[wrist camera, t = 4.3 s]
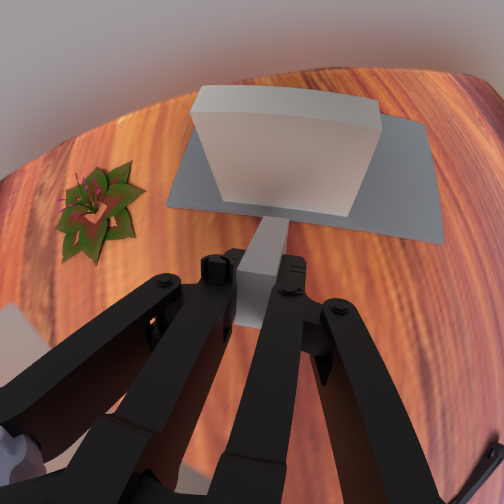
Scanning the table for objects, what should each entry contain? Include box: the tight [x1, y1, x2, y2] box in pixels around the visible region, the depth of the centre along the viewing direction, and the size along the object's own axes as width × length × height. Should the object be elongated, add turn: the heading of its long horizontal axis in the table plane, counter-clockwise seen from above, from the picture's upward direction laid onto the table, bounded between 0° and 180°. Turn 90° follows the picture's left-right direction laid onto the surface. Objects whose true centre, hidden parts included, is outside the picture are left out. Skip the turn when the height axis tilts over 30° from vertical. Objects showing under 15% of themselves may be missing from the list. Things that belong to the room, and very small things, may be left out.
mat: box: [166, 113, 444, 245], centre depth 24 cm, size 24×14×1 cm, turn 80°
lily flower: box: [55, 161, 145, 266], centre depth 23 cm, size 12×12×5 cm
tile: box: [190, 85, 382, 217], centre depth 18 cm, size 10×3×10 cm, turn 80°
